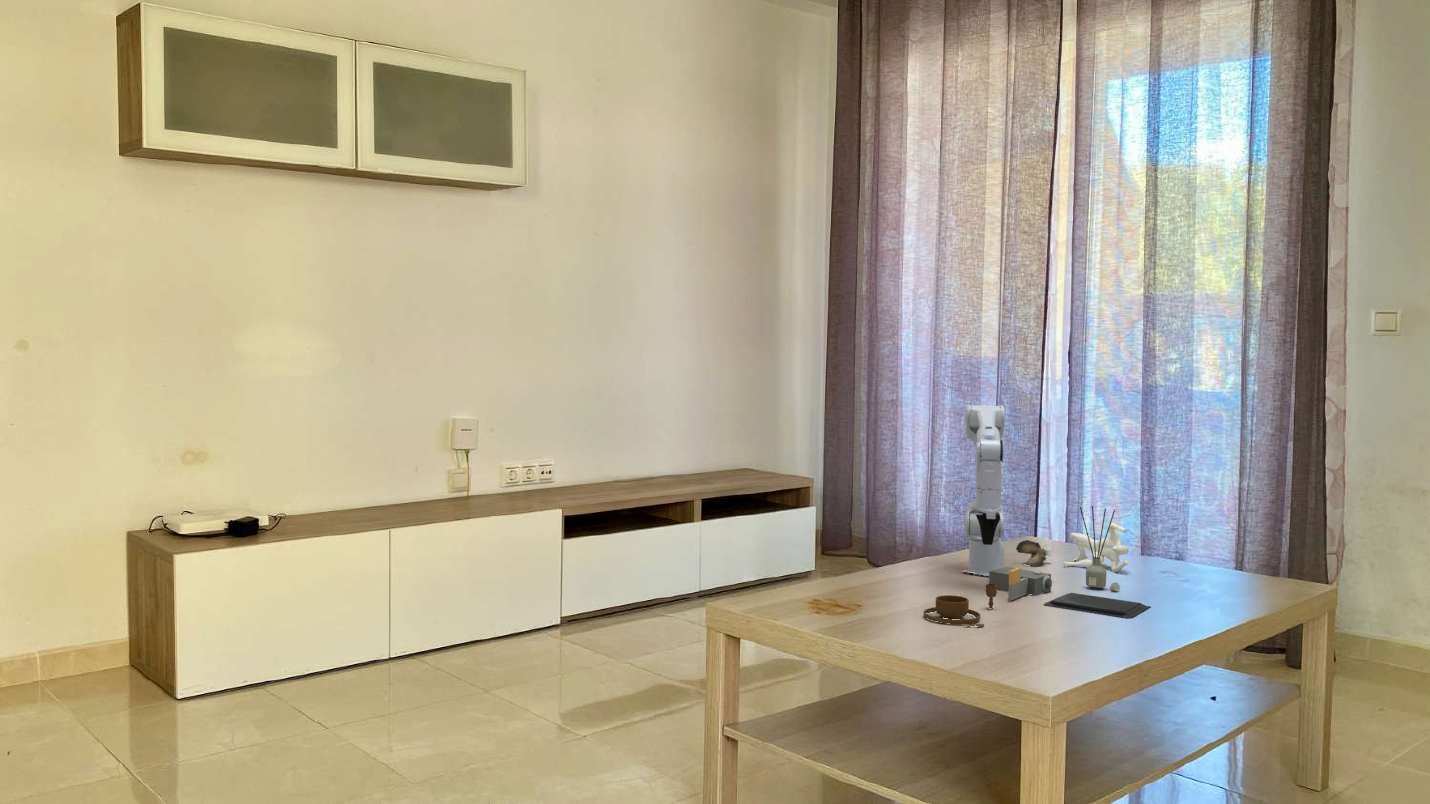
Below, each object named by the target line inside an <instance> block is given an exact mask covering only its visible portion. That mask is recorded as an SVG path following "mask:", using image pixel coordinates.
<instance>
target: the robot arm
mask: <svg viewBox="0 0 1430 804" xmlns="http://www.w3.org/2000/svg"><path fill="white" fill-rule="evenodd" d="M1005 411H1006V410H1005V406H1003V405H976V404H975V405H974V404H973V405H972V404H968V405H967V406H966V408H965V434H966V438H967V439H968V440H970V441H972V442H973V445H974V449H975V500H974V501H972V502H971V503H969V504H968V505H967V506H966V508H965V510H964V512H965V513H964V525H963V526H964V527H963V529H964V535H965V537H967V538H968V539H969V540H968V542H969V543H968V546H969V548H968V569H969V570H968V571H967V570H966V569H965V570H966V571H965V572H975V573H977V574H981V575H986V576H989V571H992V570H996V569H1000V568H1003V567H1005V546H1004V543H1003V541H1002V540H1001V539H1002V538H1003V537H1004V535H1005V515H1004V509H1003V507H1002V506H1001V501H1002V500H1001V496H1002V495H1001V494H1002V465H1003V462H1004V460H1005V443H1004V439H1003V438H1002V437H1003V435H1004V428H1005V421H1006V420H1005V419H1006V416H1005V413H1006V412H1005ZM981 575H980V576H981ZM986 576H985V577H986Z"/></svg>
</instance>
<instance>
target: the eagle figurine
mask: <svg viewBox="0 0 1430 804" xmlns="http://www.w3.org/2000/svg"><path fill="white" fill-rule="evenodd" d="M1015 549H1016V552H1017V553H1019V554H1026V555H1029V554H1030V556H1029V557H1028V558H1027V561H1025V562H1023V563H1022V565H1023V564H1026V565H1030V566H1031V567H1032V566H1033V567H1038V566H1039V565H1041V564H1042V563H1044V562H1045V561H1046V560H1047V557H1046V556H1048V557H1050V556H1052V554H1053V552H1054V549H1053V547H1052V546H1051V545H1050V544H1049V545H1048V544H1045V545H1044V546H1043V547H1042V548H1041V545H1040V543H1039V542H1037V541H1034V540H1033V541H1032V540H1029V539H1026V540H1023V541H1019V543H1018V544H1017V545H1016V547H1015ZM1043 561H1044V562H1043Z"/></svg>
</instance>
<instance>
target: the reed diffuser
mask: <svg viewBox="0 0 1430 804" xmlns="http://www.w3.org/2000/svg"><path fill="white" fill-rule="evenodd" d="M1079 510H1080V514H1081V517H1082V521H1083V524H1084V528H1085V533H1086V536H1088V540H1089V544H1090V548H1091V550H1090V551H1091V554H1092V555H1093V551H1092V547H1091V543H1090V539H1089V537H1090V536H1089V532H1088V529H1087V525H1086V521H1085V517H1084V514H1083V513H1084V512H1083V509H1082V507H1081V506H1080V507H1079ZM1091 511H1092V512H1091V513H1092V515H1091V516H1092V528H1093V540H1094V549H1095V557H1094V555H1093V560H1092V559H1091V560H1092V565H1091V566H1090V567H1086V570H1085V585H1086V586H1088V587H1092V588H1105V587H1106V585H1107V569H1106V568H1104V567H1103V566H1102V564H1101V558H1100V556H1101V553H1102V549H1103V546H1104V543H1105V540H1106V538H1107V537H1108V533H1109V532H1108V531H1109V528H1110V525H1111V523H1113V522H1112V521H1113V518H1114V515H1115V513H1116V509H1113V512H1112V515H1111V518H1110V521H1109V524H1108V528H1107V530H1106V532H1105V533H1106V534H1105V537H1104V538H1105V540H1104V543H1103V546H1102V549H1101V552H1100V555H1099V550H1100V544H1101V539H1102V536H1103V530H1104V523H1105V517H1106V511H1107V508H1104V511H1103V512H1104V513H1103V516H1102V517H1103V519H1102V524H1101V532H1100V536H1099V540H1100V543H1099V549H1098V555H1097V557H1096V547H1095V540H1096V535H1095V532H1096V531H1095V516H1094V515H1095V514H1094V506H1093V505H1091ZM1092 555H1091V556H1092ZM1098 556H1099V557H1098ZM1109 590H1110V591H1112V592H1119V591H1120V590H1121V585H1120V584H1119V583H1118V582H1113V583H1111V584H1110V586H1109Z"/></svg>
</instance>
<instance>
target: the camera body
mask: <svg viewBox="0 0 1430 804" xmlns="http://www.w3.org/2000/svg"><path fill="white" fill-rule="evenodd" d="M1016 568H1017V567H1015V568H1014V567H1009V566H1004V567H1003V568H1000V569H996V570H992V571H989V577H988V578H989V579H988V584H996V585H997V590H1000V589H1001V591H1006V592H1009V571H1011V570H1013V569H1016ZM1022 578H1028V594H1032V595H1031V596H1034V595H1035V596H1038V595H1041V594H1040V593H1042V594H1045V593H1048V592H1050V591H1051V590H1052V589H1051V588H1052V584H1053V581H1052V573H1046V572H1042V571H1040V570H1027V569H1022V568H1021V579H1022ZM1028 594H1027V595H1028ZM1037 594H1038V595H1037Z"/></svg>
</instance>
